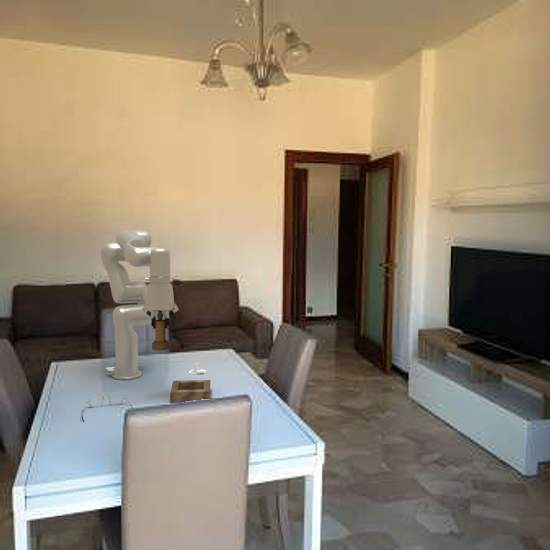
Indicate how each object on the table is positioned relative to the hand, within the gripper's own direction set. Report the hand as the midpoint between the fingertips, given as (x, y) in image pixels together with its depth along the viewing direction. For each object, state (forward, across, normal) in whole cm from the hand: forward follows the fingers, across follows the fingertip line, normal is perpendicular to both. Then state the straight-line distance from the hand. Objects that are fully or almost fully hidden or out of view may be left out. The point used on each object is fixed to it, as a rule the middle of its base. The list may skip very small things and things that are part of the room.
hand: (160, 327), depth 199 cm
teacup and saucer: (+28, +10, +33) cm, 44 cm away
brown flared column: (+8, 0, 0) cm, 8 cm away
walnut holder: (+27, +12, 0) cm, 30 cm away
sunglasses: (+28, -17, -16) cm, 36 cm away
